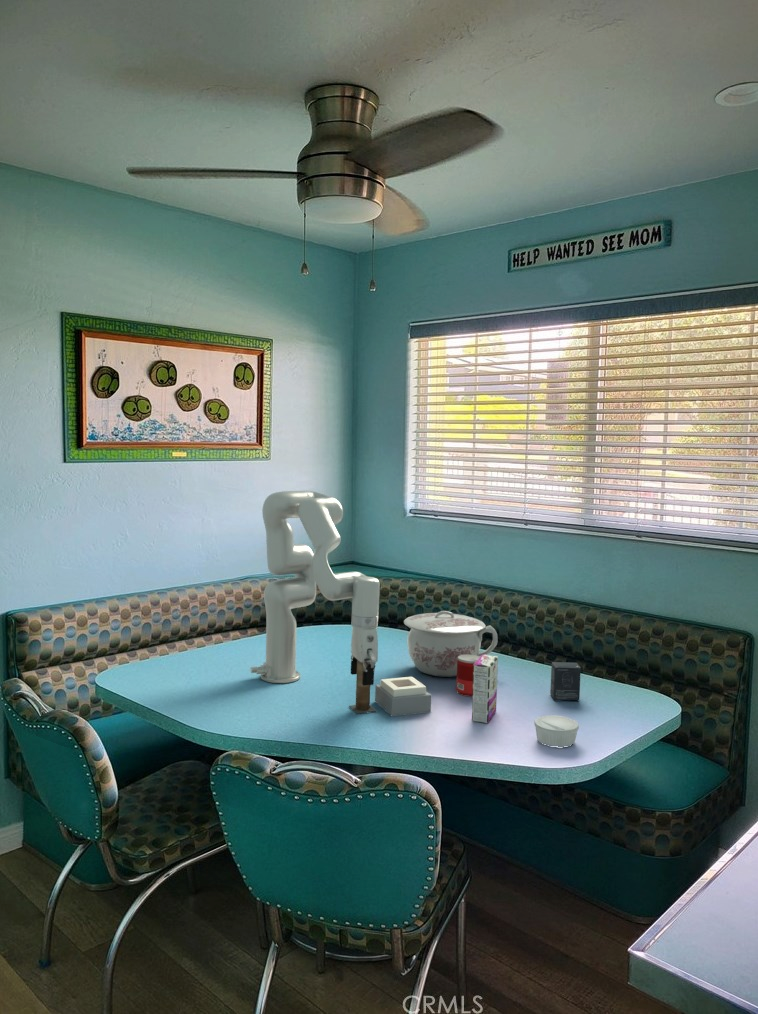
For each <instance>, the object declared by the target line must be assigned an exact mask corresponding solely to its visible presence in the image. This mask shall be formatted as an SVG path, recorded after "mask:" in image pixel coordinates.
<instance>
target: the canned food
mask: <svg viewBox="0 0 758 1014" xmlns="http://www.w3.org/2000/svg"><path fill="white" fill-rule="evenodd" d="M479 658H480V656H477V655H469V654H465V655H460V656H458V659H457V676H456V687H455V688H456V690H455V691H456V692H457V693H458V694H459V695H461V696H464V695H466V697H473V665H474V664H475V662H476V661H477V660H478V659H479Z"/></svg>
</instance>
